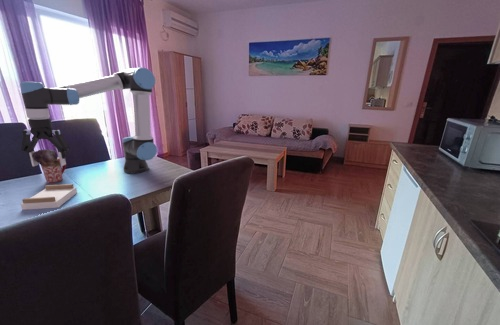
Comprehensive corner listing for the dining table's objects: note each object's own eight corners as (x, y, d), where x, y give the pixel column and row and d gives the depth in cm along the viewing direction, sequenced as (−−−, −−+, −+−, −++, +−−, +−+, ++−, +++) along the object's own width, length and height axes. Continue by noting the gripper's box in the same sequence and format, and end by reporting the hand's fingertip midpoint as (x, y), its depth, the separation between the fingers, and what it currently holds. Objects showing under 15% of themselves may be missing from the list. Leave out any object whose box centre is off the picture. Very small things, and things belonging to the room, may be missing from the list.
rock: (62, 164, 113) (35, 167, 107) (59, 147, 112) (31, 149, 105) (63, 166, 105) (33, 170, 98) (60, 148, 103) (30, 150, 97)
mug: (52, 184, 126) (46, 162, 122) (40, 182, 128) (34, 160, 124) (74, 177, 137) (69, 156, 133) (63, 175, 140) (58, 154, 136)
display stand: (77, 192, 117) (75, 183, 115) (58, 207, 102) (55, 197, 100) (46, 194, 114) (43, 185, 113) (22, 209, 99) (19, 199, 98)
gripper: (73, 118, 105) (81, 162, 111) (15, 117, 101) (27, 163, 107) (63, 119, 98) (72, 167, 104) (0, 118, 94) (14, 168, 100)
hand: (49, 165), depth 106 cm, fingers closed on rock, 11 cm apart
